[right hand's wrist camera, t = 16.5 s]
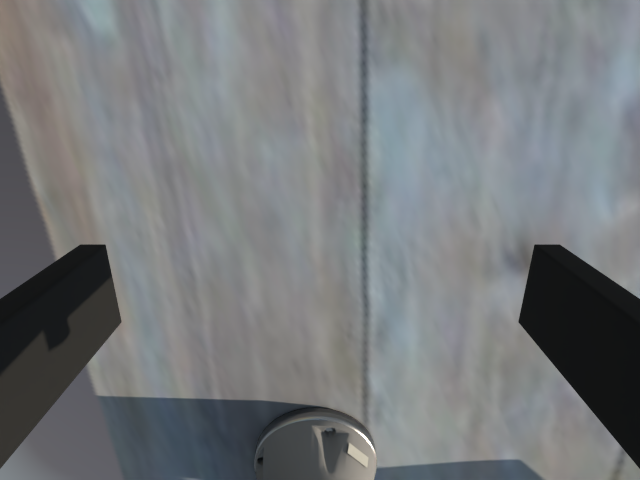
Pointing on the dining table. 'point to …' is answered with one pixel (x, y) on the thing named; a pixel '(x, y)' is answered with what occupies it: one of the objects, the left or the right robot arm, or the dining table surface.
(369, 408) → the dining table surface
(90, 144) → the dining table surface
